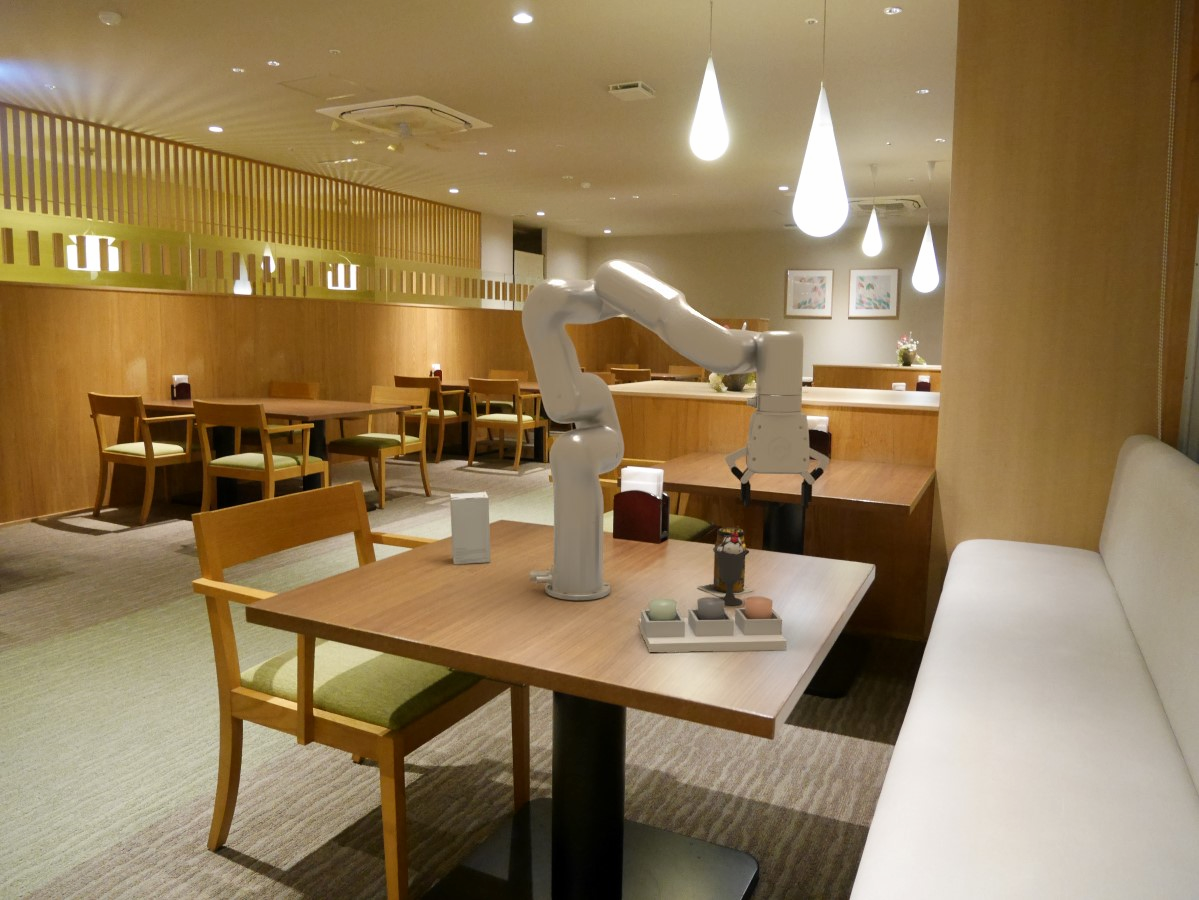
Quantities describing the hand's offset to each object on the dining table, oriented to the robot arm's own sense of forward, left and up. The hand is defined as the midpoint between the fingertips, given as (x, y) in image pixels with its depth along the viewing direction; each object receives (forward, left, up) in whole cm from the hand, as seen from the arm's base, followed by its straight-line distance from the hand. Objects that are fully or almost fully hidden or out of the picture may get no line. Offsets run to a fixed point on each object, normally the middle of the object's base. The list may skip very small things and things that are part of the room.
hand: (775, 506), depth 146 cm
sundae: (-4, +14, -21) cm, 25 cm away
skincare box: (-54, +46, -21) cm, 74 cm away
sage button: (-20, -5, -18) cm, 27 cm away
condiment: (-3, +22, -21) cm, 30 cm away
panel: (-12, -5, -21) cm, 25 cm away
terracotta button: (-4, -5, -18) cm, 19 cm away
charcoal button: (-12, -5, -18) cm, 22 cm away
